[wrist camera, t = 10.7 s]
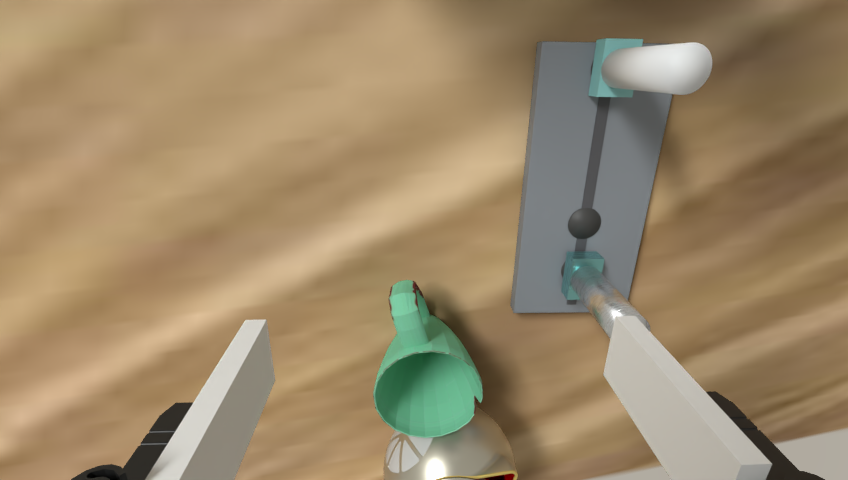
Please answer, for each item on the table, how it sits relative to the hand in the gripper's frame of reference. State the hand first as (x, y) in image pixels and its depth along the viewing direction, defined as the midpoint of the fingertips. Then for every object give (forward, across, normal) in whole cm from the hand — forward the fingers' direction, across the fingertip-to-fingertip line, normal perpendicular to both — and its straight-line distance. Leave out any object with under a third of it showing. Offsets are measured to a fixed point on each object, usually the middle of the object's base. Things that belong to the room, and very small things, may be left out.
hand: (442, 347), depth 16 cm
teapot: (+27, +2, -30) cm, 40 cm away
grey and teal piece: (+27, +16, -1) cm, 31 cm away
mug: (+27, 0, -15) cm, 31 cm away
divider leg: (+25, +16, -9) cm, 31 cm away
